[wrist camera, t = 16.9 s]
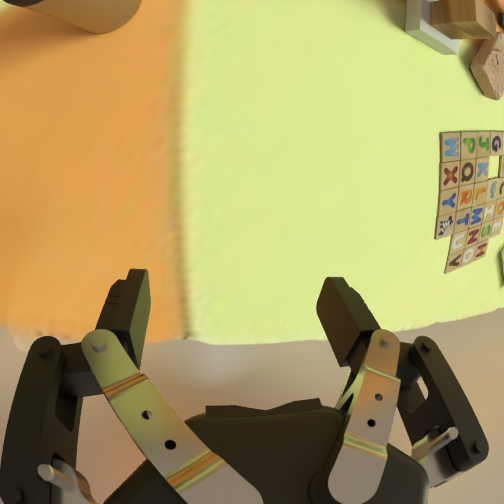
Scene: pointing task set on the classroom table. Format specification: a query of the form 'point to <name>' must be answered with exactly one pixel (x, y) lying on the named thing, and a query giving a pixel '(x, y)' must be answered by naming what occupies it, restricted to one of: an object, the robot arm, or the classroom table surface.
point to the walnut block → (463, 19)
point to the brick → (490, 67)
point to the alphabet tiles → (469, 194)
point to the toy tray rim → (503, 255)
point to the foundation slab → (427, 28)
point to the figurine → (501, 19)
